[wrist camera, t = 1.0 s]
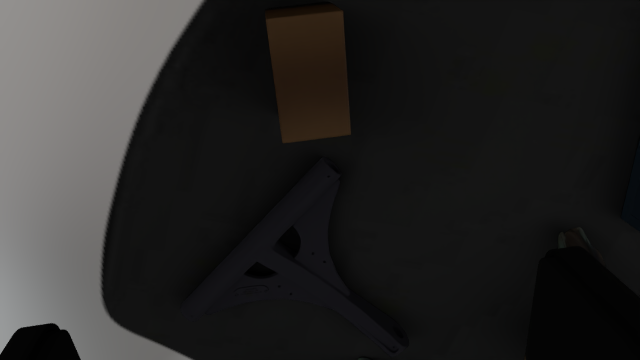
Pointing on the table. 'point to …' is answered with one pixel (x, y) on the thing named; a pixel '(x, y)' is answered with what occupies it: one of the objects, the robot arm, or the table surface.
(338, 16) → the brown wooden block
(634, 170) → the tray
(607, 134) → the table surface
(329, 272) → the bracket
